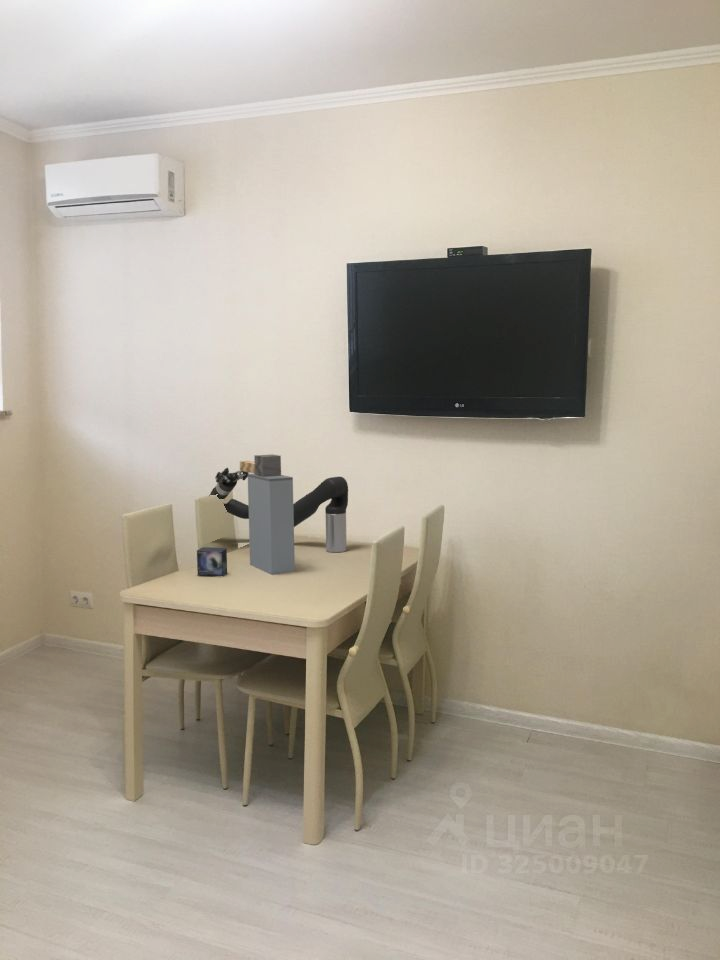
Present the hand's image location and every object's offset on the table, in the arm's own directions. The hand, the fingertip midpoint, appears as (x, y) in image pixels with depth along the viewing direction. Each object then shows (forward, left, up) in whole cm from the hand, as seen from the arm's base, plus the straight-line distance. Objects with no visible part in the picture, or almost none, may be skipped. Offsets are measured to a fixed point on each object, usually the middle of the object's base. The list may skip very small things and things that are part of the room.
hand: (236, 468), depth 358 cm
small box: (+40, +6, -38) cm, 56 cm away
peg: (+16, +16, 0) cm, 22 cm away
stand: (+24, +25, -38) cm, 51 cm away
